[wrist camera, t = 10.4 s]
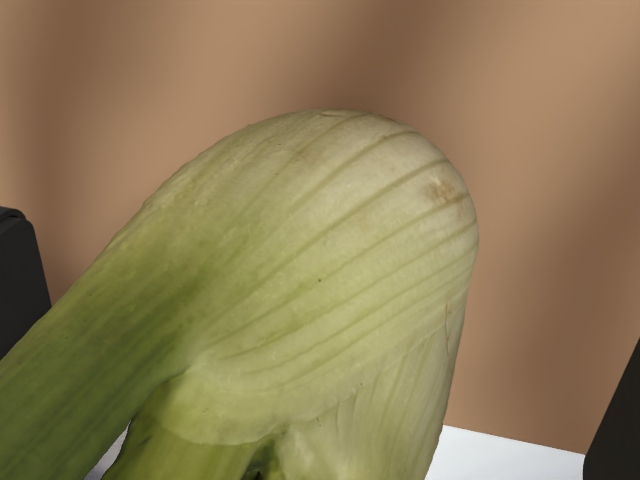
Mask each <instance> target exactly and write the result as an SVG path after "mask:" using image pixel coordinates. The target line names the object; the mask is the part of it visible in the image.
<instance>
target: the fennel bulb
mask: <svg viewBox="0 0 640 480" xmlns="http://www.w3.org/2000/svg"><path fill="white" fill-rule="evenodd" d="M478 247H479V232H478V223H477V216H476V210H475V208H474V203H473V201H472V199H471V196H470V194H469V191H468V189H467V187H466V184H465V182H464V180H463V178H462V176H461V174H460V173H459V171H458V170H457V169H456V168H455V167H454V166H453V164H452V163H451V162H450V161H449V159H448V158H447V157H446V156H445V154H444V153H442V152H441V151H440V150H439V148H438V147H437V146H436V145H434V144H433V143H432V142H431V141H430V140H428V139H427V138H426V137H424V136H423V135H421V134H420V133H419V132H418V131H416V130H415V129H414V128H412V127H411V126H409V125H407V124H405V123H403V122H401V121H399V120H397V119H394V118H390V117H386V116H382V115H379V114H377V113H374V112H371V111H365V110H361V109H352V108H321V109H312V110H305V111H297V112H290V113H285V114H280V115H277V116H274V117H271V118H268V119H265V120H262V121H259V122H256V123H254V124H252V125H248V126H246V127H245V128H243V129H241V130H238V131H236V132H235V133H233V134H230V135H228V136H226V137H224V138H222V139H221V140H219V141H218V142H216V143H215V144H214V145H213V146H211V147H209V148H208V149H206V150H205V151H203V152H201V153H199V155H198V156H197V157H196V158H194V159H193V160H191V161H189V162H187V163H185V164H184V165H182V166H181V167H180V169H179V170H177V171H176V172H175V173H174V174H173V175H172V176H171V177H170V178H169V179H167V180H166V181H164V182H163V183H162V185H161V186H160V187H159V188H158V189H157V190H156V192H155V193H153V194H152V195H151V196H150V197H149V198H147V199H146V200H145V201H144V202H143V205H142V207H141V209H140V210H139V211H138V212H137V213H136V214H135V215H134V216H133V217H132V218H131V219H130V220H129V222H128V223H127V224H126V225H125V226H124V227H123V228H122V229H121V230H120V231H118V232H117V233H116V234H115V235H114V236H113V238H112V239H111V241H110V242H109V243H108V245H107V246H106V247H105V248H104V249H103V251H102V252H101V253H100V254H99V255H98V256H97V257H96V258H95V260H94V261H93V263H92V265H91V266H90V267H89V268H88V269H87V270H86V271H85V272H84V273H83V274H82V275H81V276H80V278H78V279H77V280H76V281H75V282H74V283H73V285H72V286H71V287H70V288H69V290H68V291H67V292H66V293H65V294H64V295H63V296H62V297H61V298H60V299H59V300H58V301H57V302H56V303H55V305H54V306H53V307H52V308H51V309H50V310H49V311H48V312H47V313H46V314H45V315H44V316H43V317H42V318H40V319H39V320H38V321H37V322H36V323H35V324H34V325H33V326H32V327H31V328H30V329H29V331H28V332H27V333H26V334H25V335H24V336H23V337H22V338H21V339H20V340H19V341H18V342H17V343H16V344H15V345H14V346H13V347H12V349H11V350H10V351H9V352H8V353H7V354H6V356H4V357H3V358H2V359H1V360H0V480H84V478H85V476H86V475H87V474H88V473H89V472H90V471H91V470H92V469H93V467H94V466H95V465H96V464H97V463H98V461H99V460H100V459H101V458H102V456H103V455H104V454H105V453H106V452H107V451H108V449H109V448H110V447H111V445H112V444H113V443H114V442H115V441H116V439H117V438H118V437H119V436H120V435H121V434H122V433H123V431H124V430H125V429H126V427H127V426H128V424H129V422H130V420H131V422H130V424H129V427H128V431H127V435H126V437H125V440H124V442H123V444H122V447H121V450H120V453H119V455H118V456H117V458H116V460H115V461H114V463H113V464H112V465H111V466H110V468H109V469H108V470H107V471H106V472H105V473H104V475H103V476H102V478H101V480H424V479H425V477H426V474H427V472H428V470H429V467H430V464H431V462H432V459H433V455H434V452H435V450H436V448H437V445H438V442H439V436H440V434H441V432H442V428H443V421H444V417H445V414H446V410H447V407H448V399H449V396H450V389H451V385H452V379H453V375H454V369H455V363H456V358H457V353H458V348H459V344H460V340H461V335H462V330H463V326H464V320H465V307H466V302H467V296H468V288H469V285H470V281H471V277H472V272H473V269H474V264H475V261H476V256H477V252H478Z"/></svg>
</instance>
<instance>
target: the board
mask: <svg viewBox="0 0 640 480" xmlns="http://www.w3.org/2000/svg"><path fill="white" fill-rule="evenodd" d="M321 108H352V109H361V110H365V111H371V112H374V113H377V114H379V115H382V116H386V117H390V118H394V119H397V120H399V121H401V122H403V123H405V124H407V125H409V126H411V127H412V128H414V129H415V130H416V131H418V132H419V133H420V134H421V135H423V136H424V137H426V138H427V139H428V140H430V141H431V142H432V143H433V144H434V145H436V146H437V147H438V148H439V150H440V151H441V152H442V153H444V154H445V156H446V157H447V158H448V159H449V161H450V162H451V163H452V164H453V166H454V167H455V168H456V169H457V170H458V171H459V173H460V174H461V176H462V178H463V180H464V182H465V184H466V187H467V189H468V191H469V194H470V196H471V199H472V201H473V203H474V208H475V210H476V216H477V223H478V232H479V247H478V252H477V256H476V261H475V264H474V269H473V272H472V277H471V281H470V285H469V288H468V296H467V302H466V307H465V320H464V326H463V330H462V335H461V340H460V344H459V348H458V353H457V358H456V363H455V369H454V375H453V379H452V385H451V389H450V396H449V399H448V407H447V410H446V414H445V417H444V421H443V425H448V426H452V427H457V428H462V429H467V430H471V431H476V432H481V433H486V434H490V435H495V436H500V437H504V438H509V439H514V440H519V441H523V442H528V443H533V444H538V445H542V446H547V447H552V448H557V449H561V450H566V451H571V452H576V453H580V454H585V455H586V454H587V452H588V449H589V447H590V445H591V443H592V441H593V438H594V436H595V434H596V432H597V430H598V427H599V425H600V423H601V421H602V419H603V416H604V414H605V412H606V410H607V408H608V405H609V403H610V401H611V399H612V397H613V394H614V392H615V390H616V388H617V386H618V383H619V381H620V379H621V377H622V375H623V372H624V370H625V368H626V366H627V364H628V361H629V359H630V357H631V355H632V353H633V351H634V348H635V346H636V344H637V342H638V340H639V337H640V0H0V206H2V207H8V208H14V209H18V210H20V211H22V213H23V214H24V215H25V217H26V219H27V220H28V221H30V222H31V223H32V225H33V227H34V230H35V234H36V239H37V243H38V248H39V252H40V256H41V261H42V265H43V269H44V274H45V278H46V282H47V287H48V291H49V295H50V300H51V304H52V307H53V306H54V305H55V303H56V302H57V301H58V300H59V299H60V298H61V297H62V296H63V295H64V294H65V293H66V292H67V291H68V290H69V288H70V287H71V286H72V285H73V283H74V282H75V281H76V280H77V279H78V278H80V276H81V275H82V274H83V273H84V272H85V271H86V270H87V269H88V268H89V267H90V266H91V265H92V263H93V261H94V260H95V258H96V257H97V256H98V255H99V254H100V253H101V252H102V251H103V249H104V248H105V247H106V246H107V245H108V243H109V242H110V241H111V239H112V238H113V236H114V235H115V234H116V233H117V232H118V231H120V230H121V229H122V228H123V227H124V226H125V225H126V224H127V223H128V222H129V220H130V219H131V218H132V217H133V216H134V215H135V214H136V213H137V212H138V211H139V210H140V209H141V207H142V205H143V202H144V201H145V200H146V199H147V198H149V197H150V196H151V195H152V194H153V193H155V192H156V190H157V189H158V188H159V187H160V186H161V185H162V183H163V182H164V181H166V180H167V179H169V178H170V177H171V176H172V175H173V174H174V173H175V172H176V171H177V170H179V169H180V167H181V166H182V165H184V164H185V163H187V162H189V161H191V160H193V159H194V158H196V157H197V156H198V155H199V153H201V152H203V151H205V150H206V149H208V148H209V147H211V146H213V145H214V144H215V143H216V142H218V141H219V140H221V139H222V138H224V137H226V136H228V135H230V134H233V133H235V132H236V131H238V130H241V129H243V128H245V127H246V126H248V125H252V124H254V123H256V122H259V121H262V120H265V119H268V118H271V117H274V116H277V115H280V114H285V113H290V112H297V111H305V110H312V109H321Z"/></svg>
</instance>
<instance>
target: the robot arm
mask: <svg viewBox="0 0 640 480" xmlns="http://www.w3.org/2000/svg"><path fill="white" fill-rule="evenodd" d="M51 308H52V304H51V300H50V295H49V291H48V287H47V282H46V278H45V274H44V269H43V265H42V261H41V256H40V252H39V248H38V243H37V239H36V234H35V230H34V227H33V225H32V223H31V222H30V221H28V220H27V219H26V217H25V215H24V214H23V213H22V211H20V210H18V209H14V208H8V207H2V206H0V360H1V359H2V358H3V357H4V356H6V354H7V353H8V352H9V351H10V350H11V349H12V347H13V346H14V345H15V344H16V343H17V342H18V341H19V340H20V339H21V338H22V337H23V336H24V335H25V334H26V333H27V332H28V331H29V329H30V328H31V327H32V326H33V325H34V324H35V323H36V322H37V321H38V320H39V319H40V318H42V317H43V316H44V315H45V314H46V313H47V312H48V311H49V310H50V309H51ZM583 480H640V337H639V340H638V342H637V344H636V346H635V348H634V351H633V353H632V355H631V357H630V359H629V361H628V364H627V366H626V368H625V370H624V372H623V375H622V377H621V379H620V381H619V383H618V386H617V388H616V390H615V392H614V394H613V397H612V399H611V401H610V403H609V405H608V408H607V410H606V412H605V414H604V416H603V419H602V421H601V423H600V425H599V427H598V430H597V432H596V434H595V436H594V438H593V441H592V443H591V445H590V447H589V449H588V452H587V454H586V456H585V459H584V464H583Z"/></svg>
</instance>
